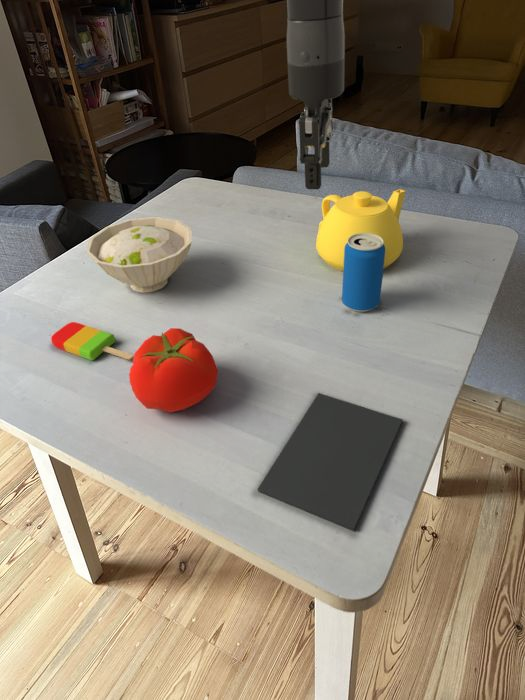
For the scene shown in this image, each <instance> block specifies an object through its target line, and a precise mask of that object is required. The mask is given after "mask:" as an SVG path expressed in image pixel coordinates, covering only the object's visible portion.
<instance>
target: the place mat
mask: <svg viewBox="0 0 525 700" xmlns="http://www.w3.org/2000/svg"><path fill="white" fill-rule="evenodd" d="M402 424H403V419H402V418H399V417H396V416H393V415H389V414H386V413H383V412H380V411H376V410H373V409H372V408H371V409H370V408H368V407H365V406H361V405H358V404H355V403H351V402H348V401H345V400H342V399H339V398H335V397H334V396H329V395H326V394H323V393H320V392H318V393H317V395H316V396H315V398H314V399H313V401H312V403H310V406H309V407H308V408H307V410H306V412H305V414H304V415H303V417H302V418H301V420H300V422H299V423H298V425H297V426H296V428H295V429H294V431H293V432H292V434H291V435H290V437H289V438H288V440H287V442H286V443H285V445H284V446H283V448H282V450H281V452H280V453H279V455H278V456H277V457H276V459H275V461H274V462H273V464H272V466H271V467H270V468H269V470H268V471H267V473H266V475H265V476H264V478H263V479H262V481H261V482H260V484H259V486H258V488H257V492H258V493H261V494H263V495H265V496H268V497H270V498H272V499H275V500H278V501H279V502H282V503H285V504H287V505H289V506H291V507H292V506H293V507H294V508H297V509H299V510H301V511H304V512H307V513H309V514H311V515H313V516H316V517H318V518H321V519H322V520H325V521H328V522H330V523H333V524H335V525H337V526H340V527H343V528H345V529H347V530H350V531H352V532H355V531H356V528H357V526H358V524H359V521H360V519H361V517H362V515H363V512H364V510H365V508H366V506H367V503H368V501H369V499H370V496H371V494H372V492H373V490H374V487H375V485H376V483H377V481H378V478H379V476H380V474H381V472H382V469H383V467H384V465H385V464H386V463H385V462H386V460H387V458H388V455H389V453H390V451H391V449H392V446H393V444H394V442H395V440H396V438H397V435H398V433H399V432H400V429H401V426H402Z"/></svg>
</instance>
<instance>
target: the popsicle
mask: <svg viewBox="0 0 525 700" xmlns="http://www.w3.org/2000/svg"><path fill="white" fill-rule="evenodd" d="M50 340H51V344H52V345H53V347H54V348H56V349H59V350H62V351H64V352H67V353H70V354H73V355H75V356H78V357H81V358H84V359H86V360H89V361H94V360H96V359H97V358H98V357H99V356H100V355H102V353H108V354H111V355H114V356H116V357H119V358H122V359H125V360H128V361H129V360H133V358H134V355H133V354H131V353H128V352H125V351H122V350H119V349H116V348H114V347H111V346H112V345H113V344H114V343H116V337H115V335H114V334H112V333H109V332H106V331H103V330H100V329H97V328H94V327H91V326H88V325H86V324H82V323H80V322H75V321H71V322H68V323H67V324H65V325H63V326H62V327H61V328H60V329H59V330H57V331H56V332H54V333H53V334H52V335H51V338H50Z"/></svg>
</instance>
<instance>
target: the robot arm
mask: <svg viewBox="0 0 525 700" xmlns="http://www.w3.org/2000/svg"><path fill="white" fill-rule="evenodd" d="M285 1H286V2H285V3H286V18H287V19H286V36H285V44H286V62H287V63H286V65H287V83H288V94H289V96H290V98H291V99H293V100H295V101H301V102H302V103H304V108H303V112H301V113H300V117H299V119H298V125H299V127H298V128H299V162H300V164H301V165H303V164H304V183H305V188H306V189H307V190H320V189H321V187H322V168H328V167H329V166H330V163H331V162H330V158H331V157H330V141H331V139H332V133H333V129H334V127H333V124H334V123H333V113H334V109H333V99H336V98H338V97H340V96H342V94H343V93H344V92H345V62H346V61H345V58H346V57H345V55H346V52H345V51H346V33H345V32H346V31H345V23H344V0H285ZM310 148H314V153H309V150H310Z"/></svg>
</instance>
